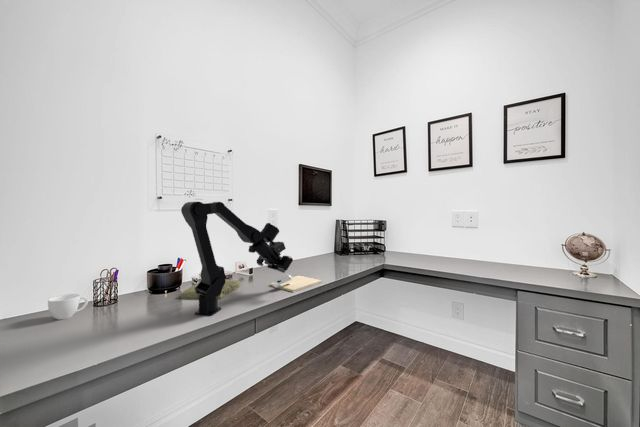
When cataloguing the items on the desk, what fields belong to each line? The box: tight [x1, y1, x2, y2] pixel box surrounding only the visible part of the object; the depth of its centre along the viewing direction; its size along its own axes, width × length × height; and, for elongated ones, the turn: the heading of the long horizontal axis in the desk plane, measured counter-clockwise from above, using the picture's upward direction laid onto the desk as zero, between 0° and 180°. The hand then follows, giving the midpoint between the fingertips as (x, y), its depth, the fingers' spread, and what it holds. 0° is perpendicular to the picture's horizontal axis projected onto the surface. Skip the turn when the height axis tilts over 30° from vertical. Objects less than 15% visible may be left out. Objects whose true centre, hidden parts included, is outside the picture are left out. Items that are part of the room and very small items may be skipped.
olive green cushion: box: [180, 279, 242, 300], centre depth 119 cm, size 19×20×4 cm
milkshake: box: [274, 273, 293, 289], centre depth 125 cm, size 5×5×10 cm
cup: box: [47, 293, 89, 321], centre depth 92 cm, size 8×10×7 cm
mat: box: [269, 275, 323, 293], centre depth 130 cm, size 20×16×1 cm
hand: (284, 271), depth 123 cm, fingers closed
